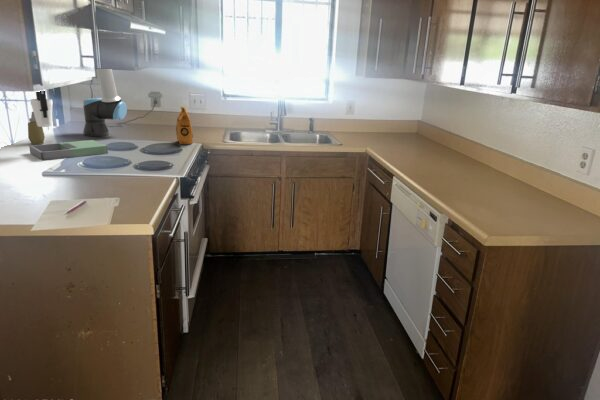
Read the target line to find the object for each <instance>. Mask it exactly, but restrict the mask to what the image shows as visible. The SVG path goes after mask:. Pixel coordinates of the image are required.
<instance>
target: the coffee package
mask: <svg viewBox="0 0 600 400" xmlns="http://www.w3.org/2000/svg"><path fill="white" fill-rule="evenodd" d="M180 109H181V111H180V112H179V114H178V115H177V118H176V127H175V133H176V134H175V135H176V139H177V142H178V143H179V144H180V145H191V144H193V141H194V135H193V126H192V123H191V119H190V115H189V114H188V111H187V110H186V107H185V106H181V107H180Z"/></svg>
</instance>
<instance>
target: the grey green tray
mask: <svg viewBox="0 0 600 400" xmlns="http://www.w3.org/2000/svg"><path fill="white" fill-rule="evenodd" d="M28 147H29V152H30V155H33V156H34V157H36V158H37V159H39V160H41V161H48V160H49V161H51V160H57V159H58V160H59V159H67V158H68V159H69V158H76V157H85V156H92V155H95V156H96V155H103V154H108V153H109V150H108V145H106V144H104V143H101V142H99V141H97V140H95V139H90V140H89V139H88V140H79V141H78V140H77V141H66V142H57V143H47V144H46V143H45V144H44V143H43V144H38V145H35V144H31V145H29V146H28Z"/></svg>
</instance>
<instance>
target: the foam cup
mask: <svg viewBox="0 0 600 400" xmlns="http://www.w3.org/2000/svg"><path fill="white" fill-rule="evenodd" d="M46 101H47V107H48V110H47V111H48V119H49V124H43V122H42V114H41V111H40V109H41V104H40V101H38V99H37V98H32V99H30V101H29V102H30V105H31V108H32V112H34V116H35V119H36V123H37V126H39V127H42V128H47V127H48V128H49V127H52V126H53V105H54V103H53V99H51V98H46Z"/></svg>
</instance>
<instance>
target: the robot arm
mask: <svg viewBox="0 0 600 400" xmlns="http://www.w3.org/2000/svg"><path fill="white" fill-rule="evenodd" d="M96 74H97V78H98V81H99V87H100V91H101V95H102V97H93V98H85V99H83V106H82V107H83V115H84V127H83V130H82V133H83V136H87V137H104V136H109V135H110V131H109V128H108V126H107V123H106V120H111V121H123V120H124V119H125V118H126V116H127V112H128V107H127V106H128V105H127V104H126V103H125V102H124V101H122V98H121V96H119V95H118V91H117V87H116V86H117V85H116V83H115V82H116V81H115V78H114V73H113V68H112V69H97V70H96ZM35 96H36V99H38V101H40V104H41V109H40V111H41V114H42V122H43V124H49V119H48V111H47V110H48V107H47V101H46V99H47V95H46V90H45V91H40V92H35Z"/></svg>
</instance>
